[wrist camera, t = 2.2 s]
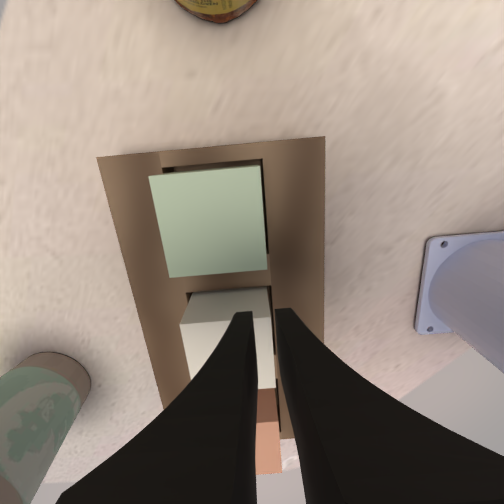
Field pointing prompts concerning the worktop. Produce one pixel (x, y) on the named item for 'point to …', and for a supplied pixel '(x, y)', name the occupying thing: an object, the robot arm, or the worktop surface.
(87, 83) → the worktop surface
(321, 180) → the walnut button board
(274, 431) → the terracotta button
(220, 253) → the sage green button
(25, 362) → the coffee cup
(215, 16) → the sauce bottle
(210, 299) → the cream button
